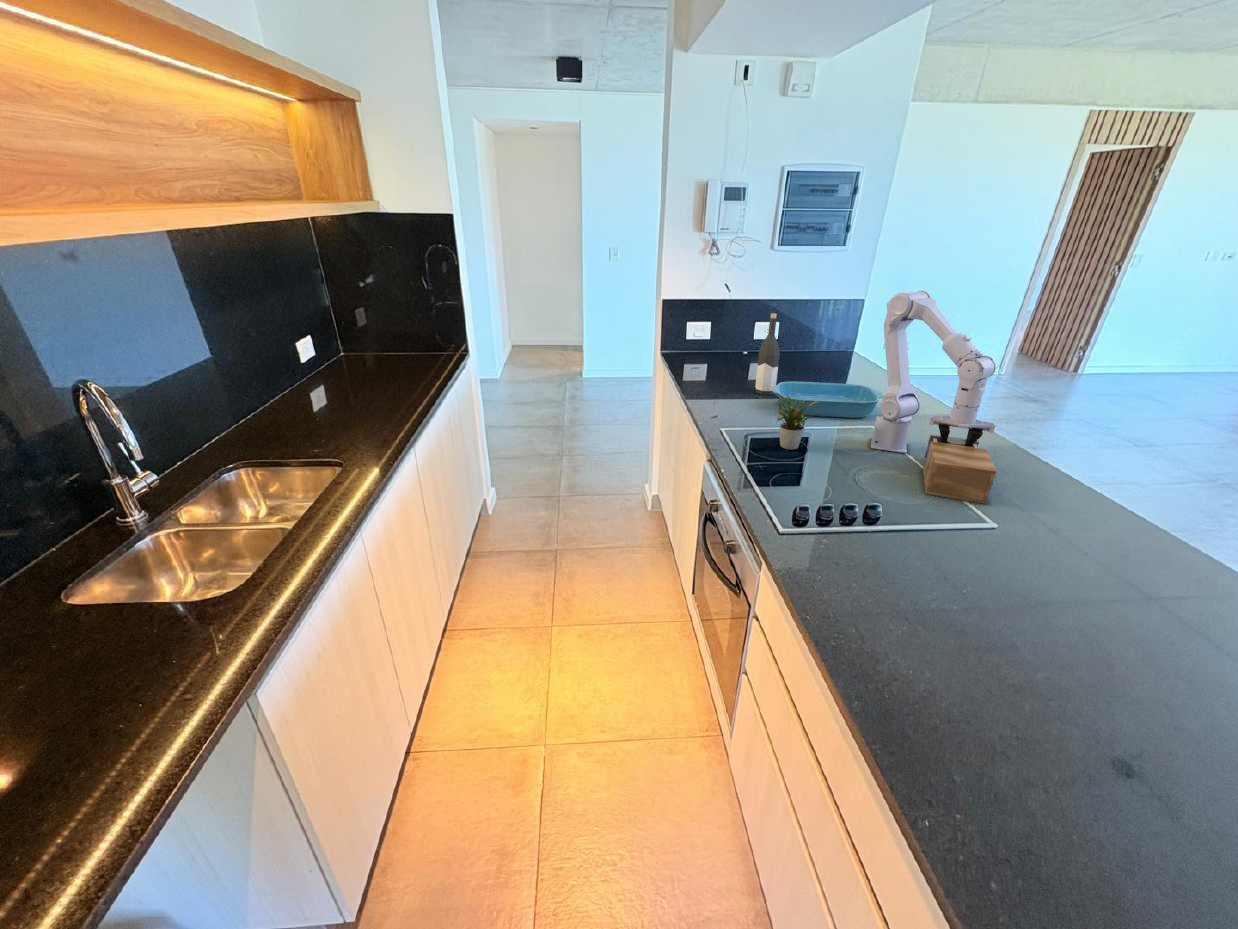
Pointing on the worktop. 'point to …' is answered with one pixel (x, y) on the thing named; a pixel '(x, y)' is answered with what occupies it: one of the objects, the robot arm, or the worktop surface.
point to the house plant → (792, 424)
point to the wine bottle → (768, 361)
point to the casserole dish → (829, 398)
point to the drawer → (938, 439)
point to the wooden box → (958, 472)
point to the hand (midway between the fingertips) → (952, 452)
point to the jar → (956, 441)
